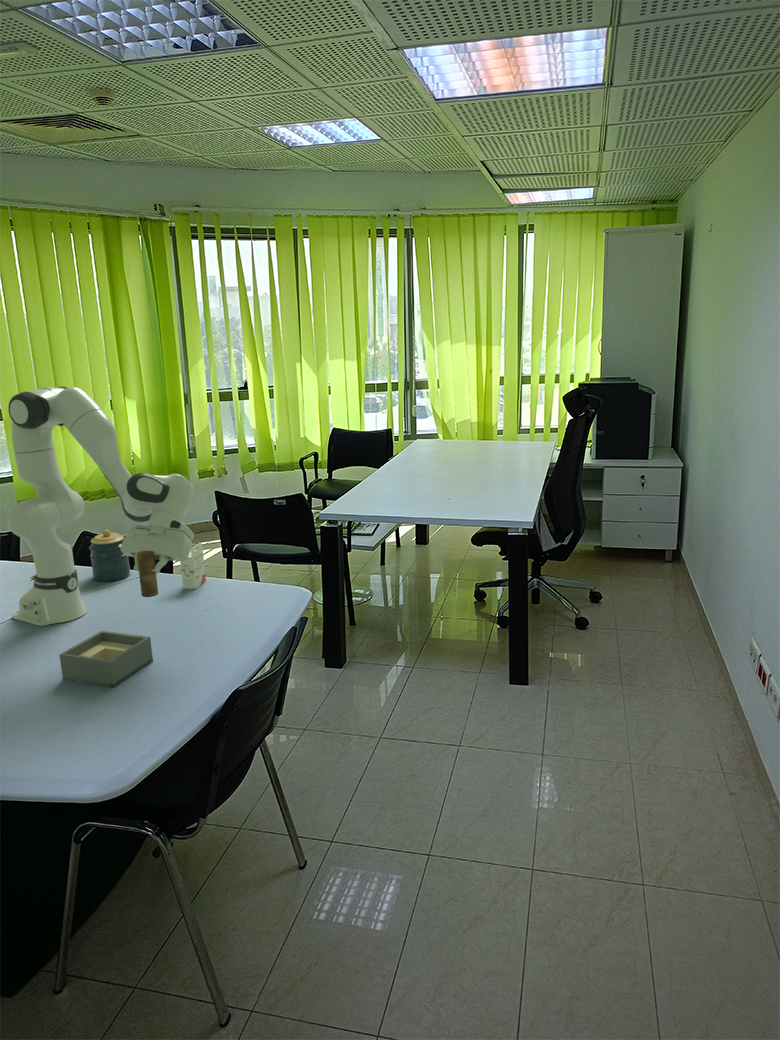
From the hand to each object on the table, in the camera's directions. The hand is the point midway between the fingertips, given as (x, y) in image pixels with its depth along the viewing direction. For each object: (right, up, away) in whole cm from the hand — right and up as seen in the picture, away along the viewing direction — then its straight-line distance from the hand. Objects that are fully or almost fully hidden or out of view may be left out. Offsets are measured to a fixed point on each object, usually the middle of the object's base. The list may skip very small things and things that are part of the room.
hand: (145, 571), depth 207 cm
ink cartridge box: (-2, -9, +57) cm, 58 cm away
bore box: (-8, -26, -6) cm, 28 cm away
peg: (0, -7, +2) cm, 7 cm away
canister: (-35, -7, +69) cm, 77 cm away
